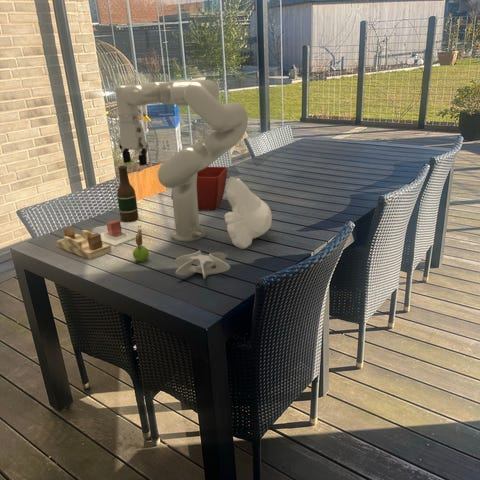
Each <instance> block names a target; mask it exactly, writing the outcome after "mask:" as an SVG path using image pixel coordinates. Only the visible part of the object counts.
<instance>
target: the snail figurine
mask: <svg viewBox="0 0 480 480" xmlns="http://www.w3.org/2000/svg"><path fill="white" fill-rule="evenodd" d="M137 227H138V229H137V233H136V235H135V236H136V239H135V243H136V245H137V246H136V247H135V248H134V249H133V251H132V252H133V253H132V256H133V259H135V260H136V261H137V262H144V261H146V260H147V259H148V258H149V256H150V255H149V254H150V253H149V250H148V248H147V247H145V246H143V234H142V231H143V230H142V229H141V227H142V225H137ZM139 227H140V228H139Z"/></svg>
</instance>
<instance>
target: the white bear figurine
mask: <svg viewBox="0 0 480 480" xmlns="http://www.w3.org/2000/svg"><path fill="white" fill-rule="evenodd" d="M225 196H226V199H227V201H228V203H229V204H230V206H231V210H232V211H227V212H226V213H225V214H224V221H225V223H226V224H227V225H226V230H227V233H228V236H229V238H231V242H232V244H233V245H234V246H235V247H237V248H239V249H241V250H245V249H247V248H248V247H250V246H251V245H252V242H253V239H256V238H258V237H261V236H263V235H264V234H265V233H266V232H268V230H269V229H270V228H271V226H272V221H273V217H272V210H271V208H270V207H269V205H268V203H266V202H265V201H263V199H261V198H260V197H259V196H257V195H255V194H254V193H253V192H252V191H251V189H250V188H249V187H248V186H247V185H246V184H245V183H244V182H243V181H242V180H241V179H240V178H238V177H237V178H236V177H235V176H230V177H228V179H227V181H226V184H225Z"/></svg>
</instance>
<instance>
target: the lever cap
mask: <svg viewBox="0 0 480 480" xmlns="http://www.w3.org/2000/svg"><path fill="white" fill-rule="evenodd" d="M106 228H107V229H106V231H108V232H107V233H104V236H106V237H108V238H111V239H114V240H118V239H121V238H124V237H127V236H126V234H125V233H126V232H125V233H122V232H123V230H122V225H121V220H119V219H114V220H113V219H112V220H111V221H107V222H106Z"/></svg>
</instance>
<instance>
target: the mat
mask: <svg viewBox="0 0 480 480" xmlns="http://www.w3.org/2000/svg"><path fill="white" fill-rule="evenodd" d="M107 232H108V230H106V231H103V232H101V233H100V234H101V240H102V243H103V242H104V243H105V244H107V245H110V246H111V247H112V246H113V247H117V246H120V245H123V244H125V242H126V243H129V242H130V241H133V240H136V235H135V234H130V233H127V232H124V231H122V233H125V234H126V236H127V237H124V238H121V239H118V240H114V239H111V238H108V237H106V236H104V233H107Z"/></svg>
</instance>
